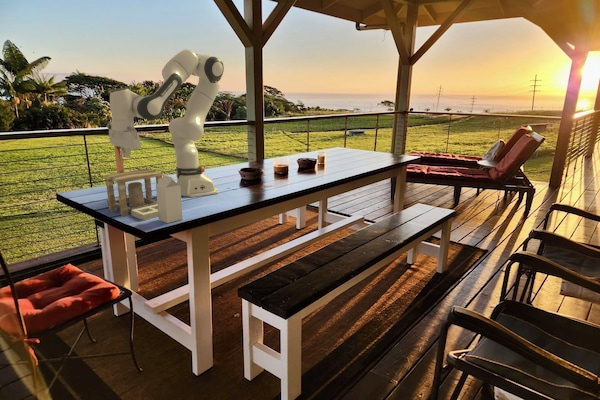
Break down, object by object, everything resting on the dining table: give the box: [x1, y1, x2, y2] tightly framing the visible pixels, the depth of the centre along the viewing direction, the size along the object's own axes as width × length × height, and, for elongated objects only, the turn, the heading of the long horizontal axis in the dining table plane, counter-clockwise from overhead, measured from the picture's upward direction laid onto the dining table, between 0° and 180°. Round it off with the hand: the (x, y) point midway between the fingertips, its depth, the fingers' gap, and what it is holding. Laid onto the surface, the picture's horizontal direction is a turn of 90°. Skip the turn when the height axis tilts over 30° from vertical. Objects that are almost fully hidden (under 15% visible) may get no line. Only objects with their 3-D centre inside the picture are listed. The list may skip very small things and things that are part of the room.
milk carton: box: [155, 174, 183, 224], centre depth 161 cm, size 7×7×19 cm
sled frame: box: [106, 146, 157, 216], centre depth 175 cm, size 20×14×28 cm
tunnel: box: [104, 168, 164, 217], centre depth 175 cm, size 13×20×16 cm, turn 142°
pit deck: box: [131, 204, 159, 221], centre depth 170 cm, size 10×14×2 cm
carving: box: [127, 181, 146, 208], centre depth 176 cm, size 6×8×12 cm
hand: (126, 157), depth 174 cm, fingers closed
